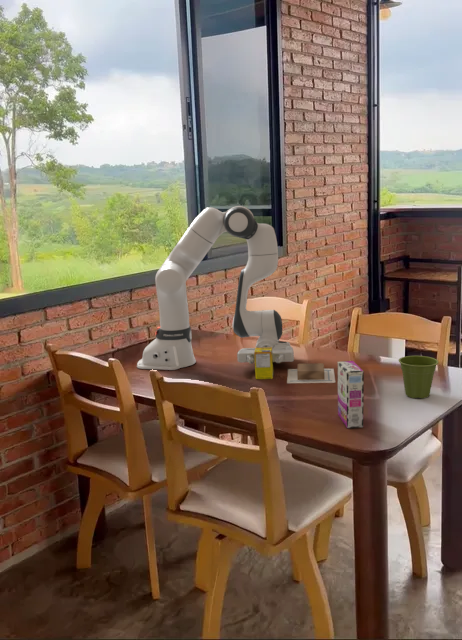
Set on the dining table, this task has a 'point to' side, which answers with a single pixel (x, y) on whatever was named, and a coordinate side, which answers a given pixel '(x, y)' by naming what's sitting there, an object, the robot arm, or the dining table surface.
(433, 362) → the plant pot
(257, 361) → the supplement box
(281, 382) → the dining table surface
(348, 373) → the candy bar box
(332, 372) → the blueprint board
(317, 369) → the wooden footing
